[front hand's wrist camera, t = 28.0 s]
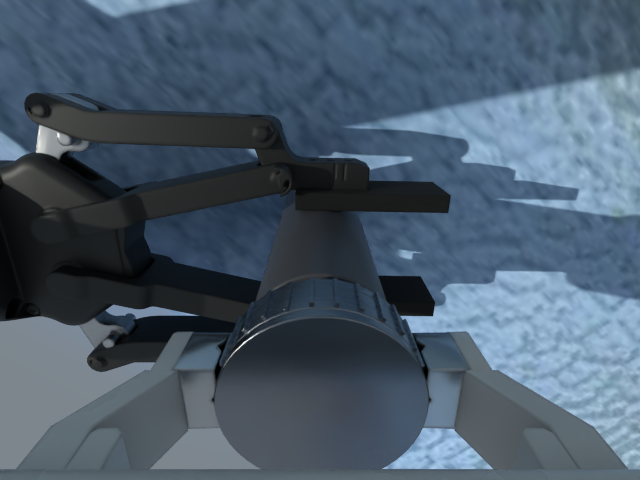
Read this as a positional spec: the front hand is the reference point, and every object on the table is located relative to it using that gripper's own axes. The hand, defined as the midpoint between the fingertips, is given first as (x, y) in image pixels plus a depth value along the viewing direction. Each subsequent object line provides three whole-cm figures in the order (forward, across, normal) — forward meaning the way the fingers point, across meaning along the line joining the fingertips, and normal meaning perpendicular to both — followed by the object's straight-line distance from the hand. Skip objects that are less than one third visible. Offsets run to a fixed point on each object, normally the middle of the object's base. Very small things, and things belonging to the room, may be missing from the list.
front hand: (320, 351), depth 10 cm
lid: (-2, 0, 0) cm, 2 cm away
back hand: (+8, -5, 0) cm, 10 cm away
